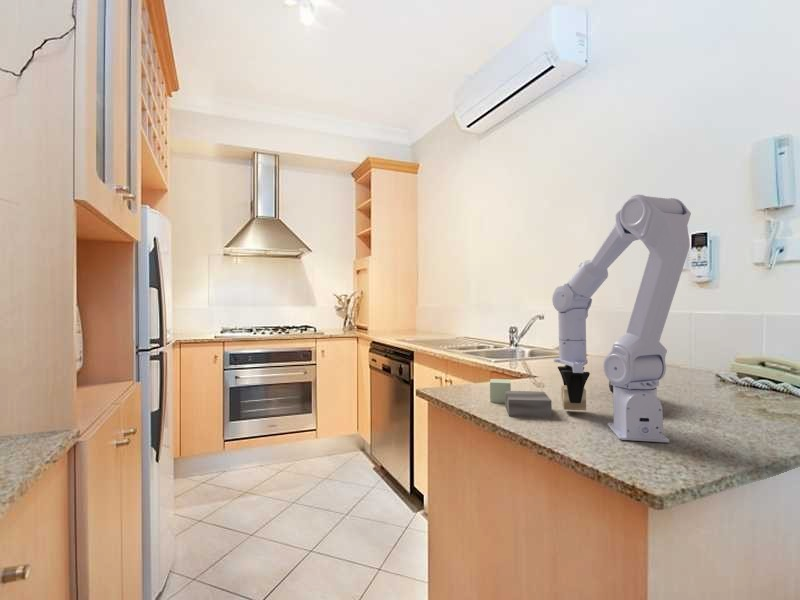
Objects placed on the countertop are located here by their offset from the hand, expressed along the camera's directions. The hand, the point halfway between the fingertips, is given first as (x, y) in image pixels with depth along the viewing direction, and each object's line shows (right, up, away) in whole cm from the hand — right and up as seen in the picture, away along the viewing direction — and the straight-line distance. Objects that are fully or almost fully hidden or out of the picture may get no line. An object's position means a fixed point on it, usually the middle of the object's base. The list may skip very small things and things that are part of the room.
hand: (573, 400), depth 94 cm
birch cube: (0, -2, 0) cm, 2 cm away
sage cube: (-13, -3, +13) cm, 19 cm away
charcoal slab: (-10, -3, +2) cm, 11 cm away
